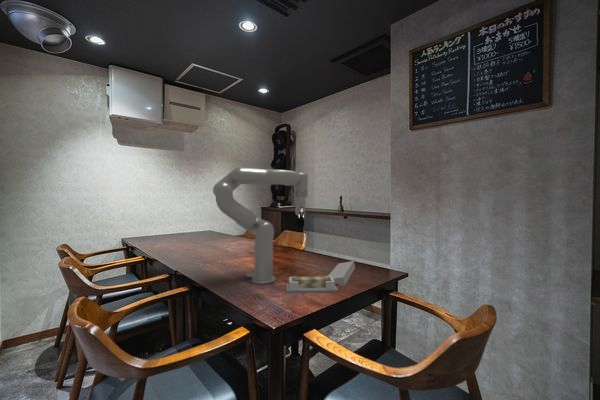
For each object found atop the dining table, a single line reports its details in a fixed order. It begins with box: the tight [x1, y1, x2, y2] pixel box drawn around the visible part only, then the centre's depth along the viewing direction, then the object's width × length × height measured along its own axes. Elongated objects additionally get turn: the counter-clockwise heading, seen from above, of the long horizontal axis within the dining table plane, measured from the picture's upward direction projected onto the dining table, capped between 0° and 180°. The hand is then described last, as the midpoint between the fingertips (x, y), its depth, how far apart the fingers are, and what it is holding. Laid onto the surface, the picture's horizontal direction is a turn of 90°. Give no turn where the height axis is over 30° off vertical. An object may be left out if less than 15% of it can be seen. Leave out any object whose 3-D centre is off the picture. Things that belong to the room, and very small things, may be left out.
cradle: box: [285, 275, 339, 294], centre depth 127 cm, size 24×10×4 cm, turn 94°
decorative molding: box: [327, 260, 356, 287], centre depth 148 cm, size 34×5×10 cm
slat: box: [294, 276, 329, 288], centre depth 127 cm, size 16×4×4 cm, turn 94°
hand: (300, 225), depth 147 cm, fingers open, 9 cm apart
